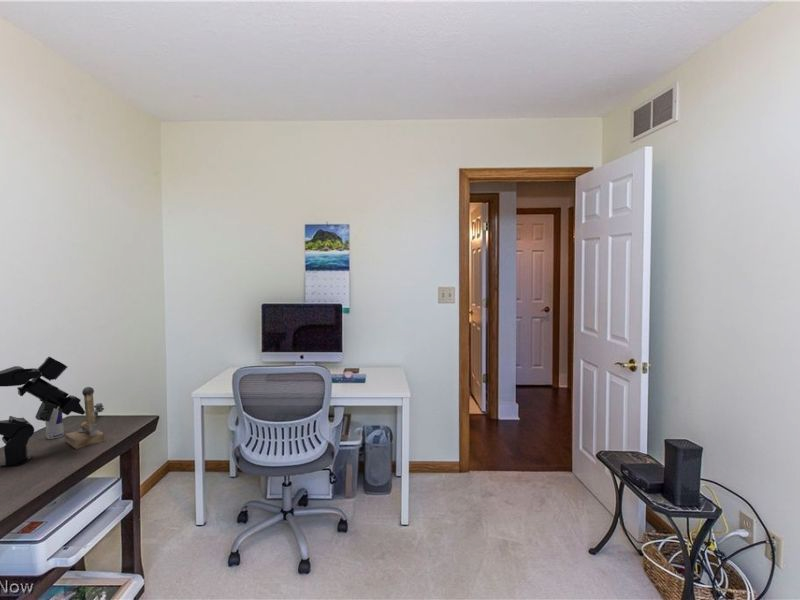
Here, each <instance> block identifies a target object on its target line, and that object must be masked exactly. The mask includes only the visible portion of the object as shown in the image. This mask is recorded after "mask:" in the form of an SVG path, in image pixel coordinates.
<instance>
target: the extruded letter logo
mask: <svg viewBox="0 0 800 600" xmlns="http://www.w3.org/2000/svg"><path fill="white" fill-rule="evenodd" d="M104 410H105V407H104V405H103V403H101V402H99V403H96V404H94V414H95V422H97V421H98V419H99V413H102V412H103V411H104Z"/></svg>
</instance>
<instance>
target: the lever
mask: <svg viewBox="0 0 800 600" xmlns="http://www.w3.org/2000/svg"><path fill="white" fill-rule="evenodd" d="M81 392H82V393H81V394H82V396H83V401H84V411H85V414H84V415H85V421H86V427H87V431H89V425H93V424H96V421H95V414H94V410H95V408H94V406H95V404H94V403H95V402H94V392H95V391H94V388H93V387H90V386H86V387H84V388H83V389H82V391H81Z"/></svg>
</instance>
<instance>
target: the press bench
mask: <svg viewBox="0 0 800 600" xmlns="http://www.w3.org/2000/svg"><path fill="white" fill-rule="evenodd" d="M80 428H81V429H79V430H76V431H72V432H68V433H64V438H65V443H67V444H68V445H70V447H72V448H74V449H76V450H77V449H81V448H85V447H88V446H92V445H95V444H100V443H103V442H105V435H104V432H102V431H100V430H98V424H97V423H95V424H93V425H89V431H87V427H86V420H85V421H83V422H82V423H81V424H80Z"/></svg>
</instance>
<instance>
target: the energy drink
mask: <svg viewBox="0 0 800 600" xmlns="http://www.w3.org/2000/svg"><path fill="white" fill-rule="evenodd" d="M58 408H59V407H58ZM58 408H57V409H54V410H53V412H52V415H51V419H50V420H49V421H44V422H45V434H46V439H48V440H54V439H55V438H56V439H60V438H62V437H64V436H65V432H64V421H63V419H64V418H63V413H62V412H60V411H59V410H58Z"/></svg>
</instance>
